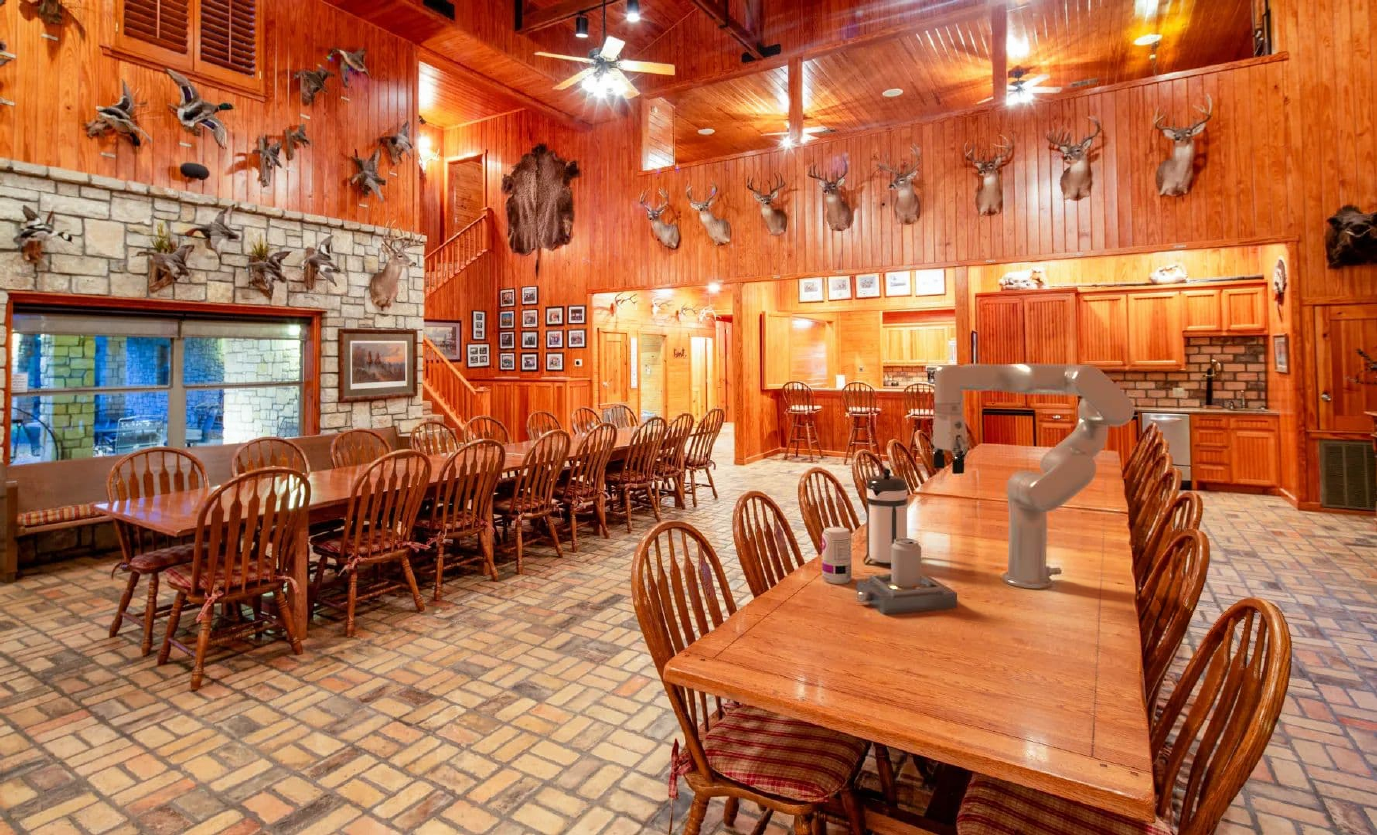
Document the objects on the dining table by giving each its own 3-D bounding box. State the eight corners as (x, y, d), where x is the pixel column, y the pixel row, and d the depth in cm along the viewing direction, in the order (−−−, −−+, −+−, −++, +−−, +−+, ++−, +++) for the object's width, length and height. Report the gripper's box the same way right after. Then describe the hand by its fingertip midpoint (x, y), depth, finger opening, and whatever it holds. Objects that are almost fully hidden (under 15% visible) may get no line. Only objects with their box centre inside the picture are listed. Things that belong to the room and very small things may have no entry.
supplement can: (820, 583, 194) (819, 531, 193) (825, 574, 201) (825, 525, 200) (848, 586, 191) (848, 534, 189) (853, 577, 198) (852, 527, 197)
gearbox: (924, 587, 188) (924, 569, 187) (956, 608, 172) (957, 588, 172) (846, 594, 184) (846, 575, 183) (872, 615, 168) (872, 595, 168)
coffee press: (922, 569, 204) (922, 471, 202) (869, 570, 204) (868, 472, 202) (904, 553, 221) (904, 463, 219) (855, 554, 221) (855, 464, 219)
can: (922, 590, 174) (923, 544, 173) (892, 588, 175) (892, 543, 174) (918, 581, 181) (919, 537, 180) (889, 579, 182) (890, 536, 181)
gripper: (979, 411, 179) (978, 475, 181) (944, 407, 196) (943, 465, 198) (953, 412, 178) (953, 476, 179) (920, 408, 195) (920, 466, 196)
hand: (948, 470), depth 188 cm, fingers open, 9 cm apart
